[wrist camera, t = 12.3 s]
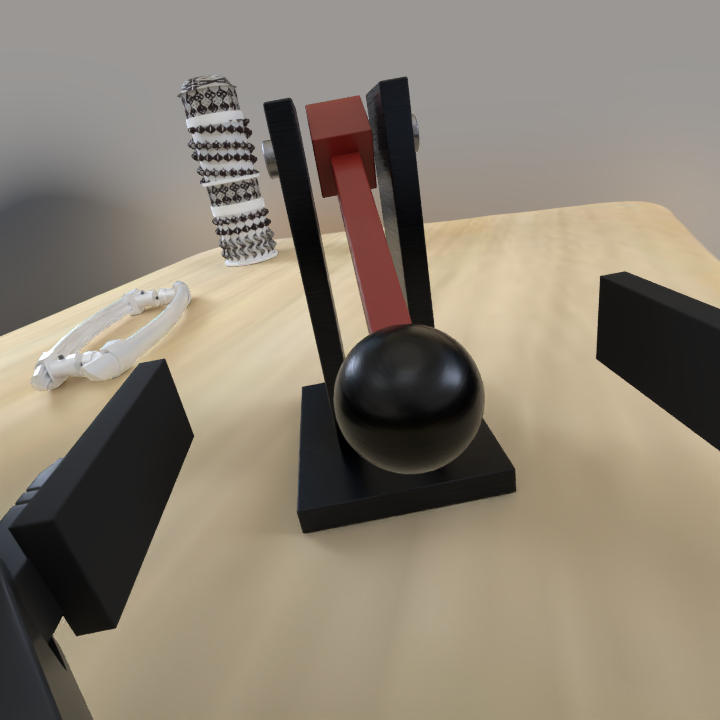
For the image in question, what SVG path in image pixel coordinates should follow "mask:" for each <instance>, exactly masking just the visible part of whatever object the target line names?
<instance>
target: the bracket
mask: <svg viewBox="0 0 720 720" xmlns="http://www.w3.org/2000/svg"><path fill="white" fill-rule="evenodd" d="M366 100H367V108H368V114H369V122H370V126H371V128H372V136H373V148H374V157H375V164H376V171H377V178H378V185H379V191H380V199H381V206H382V213H383V220H384V227H385V235H386V241H387V244H388V247H389V250H390V254H391V257H392V260H393V263H394V267H395V270H396V273H397V276H398V280H399V283H400V286H401V289H402V293H403V296H404V299H405V302H406V306H407V309H408V312H409V315H410V319H411V322H412V324H419V325H425V326H429V327H433V328H435V327H434V318H433V309H432V300H431V290H430V281H429V272H428V263H427V253H426V244H425V235H424V225H423V216H422V207H421V198H420V188H419V179H418V171H417V161H416V152H418V149H419V130H418V125H417V120H416V117H415V116H414V114H411V106H410V96H409V87H408V78H407V77H400V78H395V79H389V80H384V81H380V82H379V83H378V84H377V85H376V86H375V87H374V88H373V89H371V91H369V92H368V93H367V94H366ZM263 107H264V111H265V116H266V121H267V125H268V129H269V134H270V139H271V140H267V141H263V142H262V148H263V154H264V159H265V163H266V167H267V170H268V174H269V176H270V178H271V179H275V178H279V179H280V183H281V188H282V192H283V197H284V201H285V206H286V210H287V215H288V219H289V223H290V228H291V232H292V237H293V241H294V246H295V250H296V255H297V259H298V264H299V268H300V273H301V277H302V282H303V286H304V291H305V295H306V300H307V304H308V308H309V313H310V317H311V322H312V326H313V331H314V335H315V340H316V344H317V349H318V353H319V358H320V362H321V367H322V371H323V376H324V380H325V383H320V384H315V385H310V386H304V387H302V401H301V425H300V449H299V473H298V498H297V514H298V518H299V521H300V525H301V528H302V531H303V533H308V532H313V531H318V530H323V529H328V528H334V527H339V526H344V525H349V524H354V523H359V522H364V521H369V520H374V519H379V518H384V517H389V516H394V515H400V514H405V513H410V512H415V511H420V510H425V509H430V508H435V507H440V506H445V505H450V504H455V503H460V502H465V501H471V500H476V499H481V498H486V497H491V496H496V495H501V494H506V493H511V492H515V491H516V476H515V468H514V466H513V465H512V463H511V462H510V460H509V459H508V457H507V455H506V454H505V452H504V451H503V449H502V447H501V446H500V444H499V443H498V441H497V440H496V438H495V436H494V435H493V433H492V432H491V430H490V429H489V427H488V425H487V424H486V422H485V421H484V419H483V417H482V420H481V423H480V426H479V429H478V431H477V433H476V435H475V437H474V439H473V440H472V442H471V443H470V444H469V446H468V447H467V448H466V450H465V451H464V452H463V453H462V454H461V455H460V456H458V457H457V458H456V459H454V460H453V461H452V462H450V463H448V464H447V465H445V466H443V467H441V468H439V469H436V470H434V471H430V472H426V473H420V474H399V473H394V472H389V471H386V470H383V469H381V468H378V467H377V466H375V465H373V464H371V463H369V462H368V461H366V460H365V459H364V458H362V457H361V456H360V455H359V454H358V453H357V452H356V451H354V449H353V448H352V447H351V446H350V444H349V443H348V442H347V441H346V439H345V437H344V435H343V434H342V432H341V429H340V427H339V424H338V422H337V419H336V414H335V409H334V388H335V382H336V378H337V375H338V372H339V370H340V367H341V365H342V363H343V361H344V360H345V354H344V349H343V344H342V339H341V334H340V329H339V324H338V319H337V314H336V309H335V304H334V299H333V294H332V289H331V284H330V278H329V273H328V268H327V263H326V258H325V253H324V248H323V243H322V238H321V234H320V228H319V223H318V218H317V213H316V208H315V203H314V198H313V193H312V188H311V183H310V178H309V173H308V168H307V163H306V158H305V153H304V148H303V143H302V137H301V132H300V128H299V123H298V117H297V112H296V108H295V106H294V104H293V101H292V99H291V98H286V99H280V100H274V101H269V102H265V103H264V104H263Z"/></svg>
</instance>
